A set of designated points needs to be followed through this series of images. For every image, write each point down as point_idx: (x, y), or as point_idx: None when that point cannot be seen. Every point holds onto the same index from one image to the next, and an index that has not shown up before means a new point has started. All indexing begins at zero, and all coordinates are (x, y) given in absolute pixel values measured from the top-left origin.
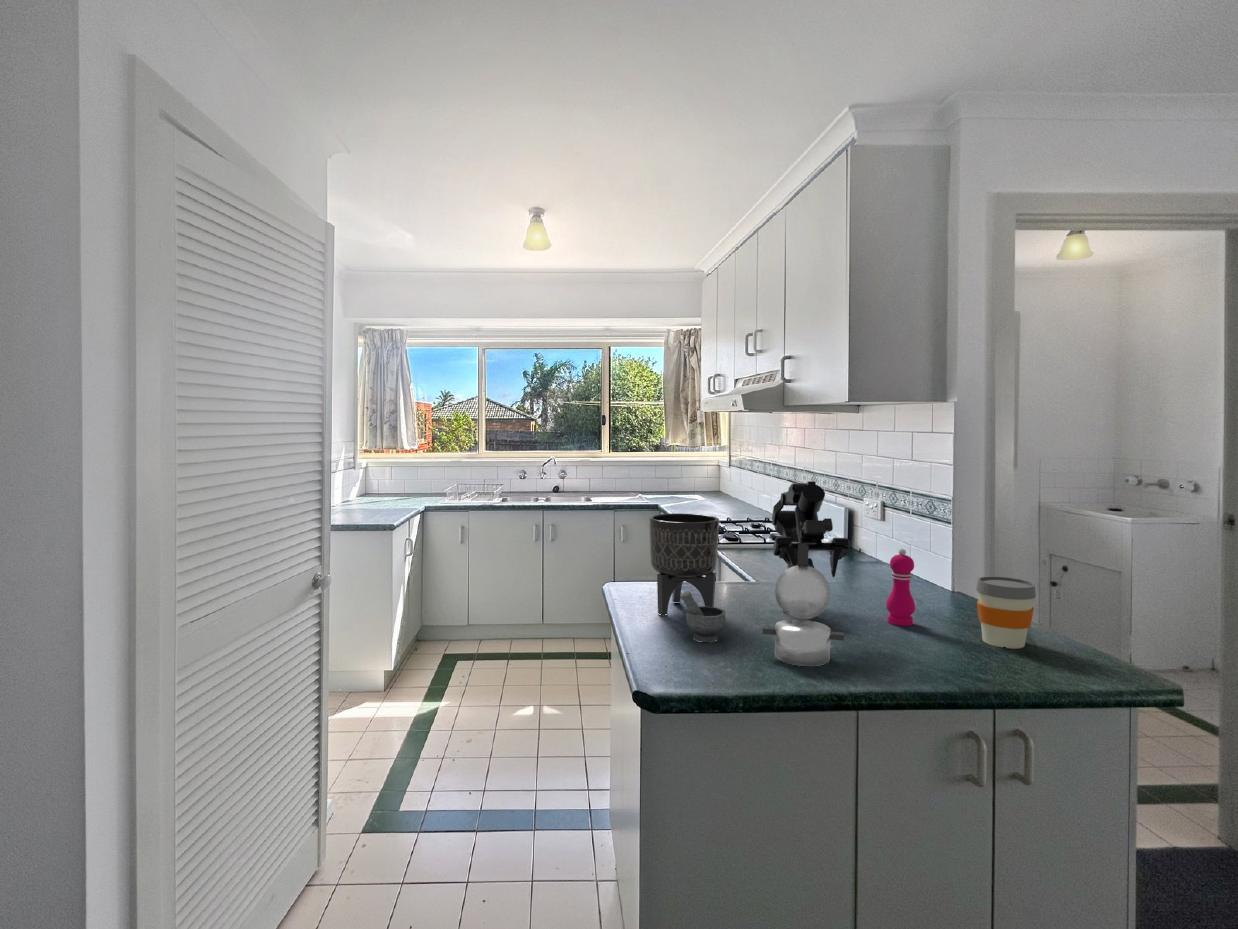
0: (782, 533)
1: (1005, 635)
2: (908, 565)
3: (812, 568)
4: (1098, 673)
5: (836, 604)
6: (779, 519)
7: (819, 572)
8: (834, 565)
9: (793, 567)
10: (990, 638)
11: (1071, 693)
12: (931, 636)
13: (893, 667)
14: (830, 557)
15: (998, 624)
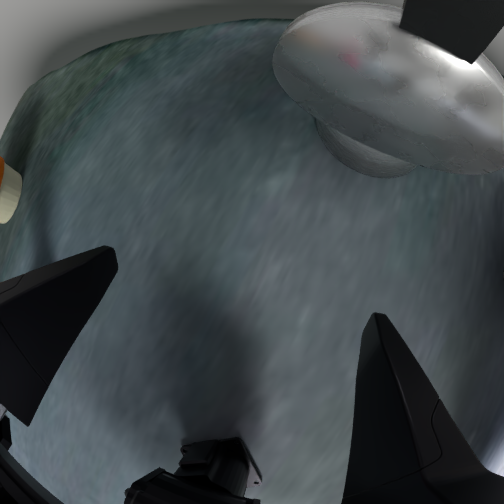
0: None
1: (9, 167)
2: None
3: (370, 6)
4: (30, 106)
5: (109, 475)
6: None
7: (324, 8)
8: (53, 269)
9: (487, 63)
10: (15, 183)
11: (91, 51)
12: (46, 232)
13: (213, 76)
14: (18, 408)
15: (2, 162)
